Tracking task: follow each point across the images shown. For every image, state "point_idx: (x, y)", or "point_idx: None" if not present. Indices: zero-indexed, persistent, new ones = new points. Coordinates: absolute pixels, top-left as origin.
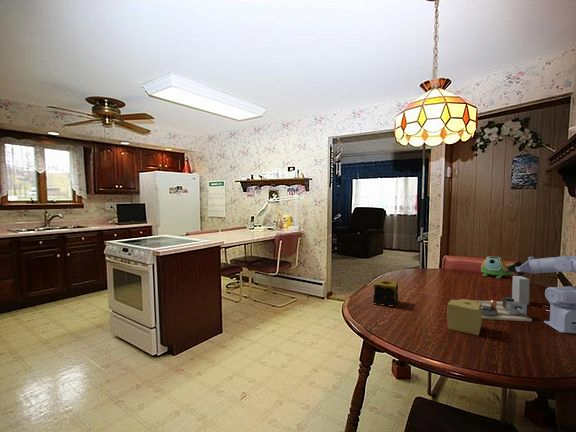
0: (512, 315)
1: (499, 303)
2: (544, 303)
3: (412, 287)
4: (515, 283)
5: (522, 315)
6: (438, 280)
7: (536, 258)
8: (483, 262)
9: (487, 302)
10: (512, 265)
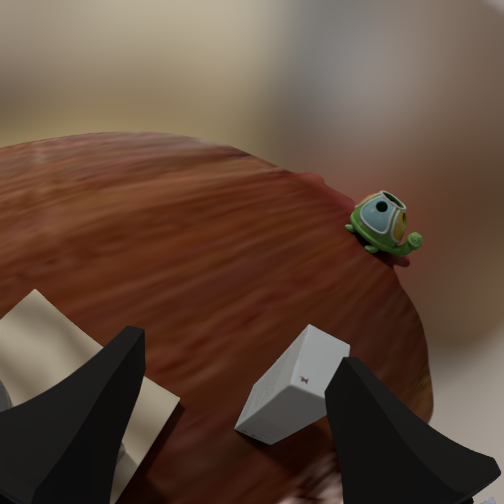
0: None
1: None
2: None
3: (76, 178)
4: (283, 367)
5: None
6: (201, 187)
7: (470, 494)
8: (365, 198)
9: None
10: (50, 392)
